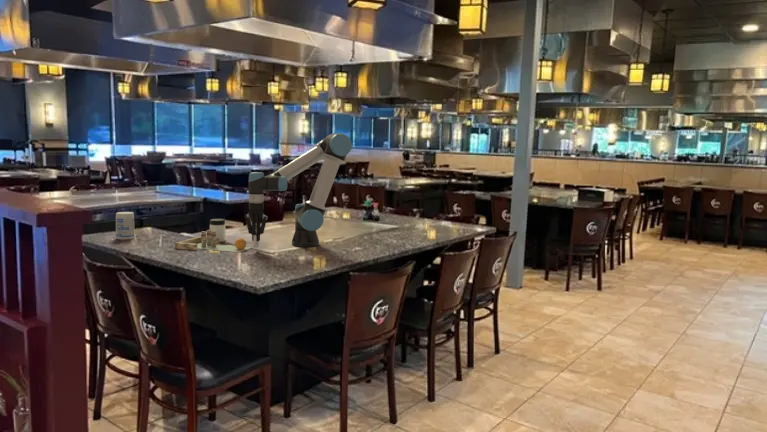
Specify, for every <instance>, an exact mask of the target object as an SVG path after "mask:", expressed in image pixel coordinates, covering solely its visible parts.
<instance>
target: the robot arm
mask: <svg viewBox="0 0 767 432" xmlns="http://www.w3.org/2000/svg"><path fill="white" fill-rule="evenodd" d="M352 144H353V143H352V141H351V138H350V137H349V136H348V135H347V134H344V133H341V132H338V133H336V132H334V133H330V134H329V135H327V136H326V137H324V138H323V139H322V140H321V141H319V142H318V143H316V145H315V147H313V148H311V149H310V150H308V151H307V152H305V153H303V154H301V155H300V156H298V157H297V158H295V159H293V160H292V161H290V162H289V163H288V164H286V165H284V166H282V167H280V168H279V169H277V170H276V171H274V172H273V173H270V174H268V175H266V176H265V174H264V172H262V171H260V172H258V171H253V172H252V171H251V172H249V174H248V212H247V214H244V216H243V217H244V219H245V222H246V226H247V231H248V234H250V235H251V241H252V243H253V245H252V246H253V247H252V249H253V248H255V249H257V248H259V243H260V241H261V235H263V234H264V233H265V229H266V225H267V221H268V219H269V216H268V215H265V213H264V200H265V199H264V192H265V191H266V192H269V191H270V192H283V191H284V192H285V191H287V189H288V181H290V180H291V179H292V178H294V177H295V176H297V175H299V174H300V173H302V172H304V171H305V170H307V169H309V168H310V167H311V166H313V165H315V164H317V163H318V162H320V161H321V160H323V159H324V160H323V162H322V165H321V168H320V170H319V173H318V176H317V178H316V182H315V183H314V186H313V188H312V192H311V194H310V197H309V200H306V201H305V202H304V203H297V204H295V207H294V208H295V209H294V216H295V217H294V218H295V219H294V221H295V222H294V233H293V235H292V239H291V245H292V246H294V247H300V248H311V247H319V245H320V239H319V237H318V236H319V235H318V233H317V231H318V230H319V229H321V228H322V226H323V224H324V215H325V213H326V210H327V208H326V207H325V206H326V205H325V204H326V203H327V199H328V197H329V195H330V192H331V189H332V187H333V184H334V181H335V178H336V176H337V173H338V170H339V168H340V165H341V164H343V163H344V162H345V160H346V157H347V155H348V154H349V153H350V152H351V151H352V147H353V145H352Z"/></svg>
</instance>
